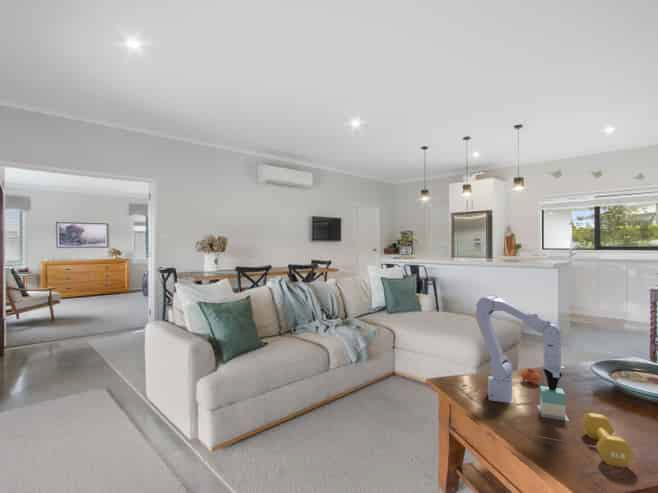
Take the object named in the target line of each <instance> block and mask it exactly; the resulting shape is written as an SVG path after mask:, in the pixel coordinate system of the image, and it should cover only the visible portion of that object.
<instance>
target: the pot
mask: <svg viewBox="0 0 658 493" xmlns="http://www.w3.org/2000/svg"><path fill="white" fill-rule="evenodd" d="M520 376H521V377H522V378H521V379H522V381H523V382H525V381H526V382H529V383H532V384H533V386H535V385H536V384H537V382H539V381H540V380H541V375H540V374H539V373H538V372H536V370H533V369H530V368H526V370H523V371H522V372H521V374H520Z"/></svg>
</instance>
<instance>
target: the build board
mask: <svg viewBox="0 0 658 493" xmlns="http://www.w3.org/2000/svg"><path fill="white" fill-rule="evenodd" d="M536 406H537V408H538V412H539V414H540V417H542V418H549V419H554V420H560V421H567V422H570V419H569V418H568V415H567V414H566V413H565V417H560V416H553V415H547V414H542V412H541V409H540V404H539V405H538V404H537V405H536Z"/></svg>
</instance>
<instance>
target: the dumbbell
mask: <svg viewBox="0 0 658 493" xmlns="http://www.w3.org/2000/svg"><path fill="white" fill-rule="evenodd" d="M580 425H581V428H582V429H583V431H584V432H585V434H586V436H588V438H589V439H593V440H596V441H597V443H596V444H595V445H596V446H595V448H596V450H597V452H598V454H599V456H600V457H601V458H602V460H603V461H604V462H605V464H607V465H608V466H611V467H616V468H617V467H618V468H627V467H628V466H629V465H630V464H631V463H632V462H633V460H634V458H635V454H634V452H633V450H632V448H631V447H630V445H629V444H628V443H627V441H626V440H625V439H624V438H622V437H620V436H615V435H613V434H614V433H615V432H614V431H615V430H614V428H613V426H612V424H611V423H610V421H609V420H608V418H607V417H606V415H604V414H600V413H594V412H587V413H586V414H585V415H584V417H583V418H582V419H581V421H580Z"/></svg>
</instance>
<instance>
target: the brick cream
mask: <svg viewBox="0 0 658 493" xmlns="http://www.w3.org/2000/svg"><path fill="white" fill-rule="evenodd" d="M539 405H540V409H541V412H542V414H547V415H553V416H560V417H565V414H566V405H565V406H564V405H557V404H550V403H543V402H542V400H541V398H540V397H539Z"/></svg>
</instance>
